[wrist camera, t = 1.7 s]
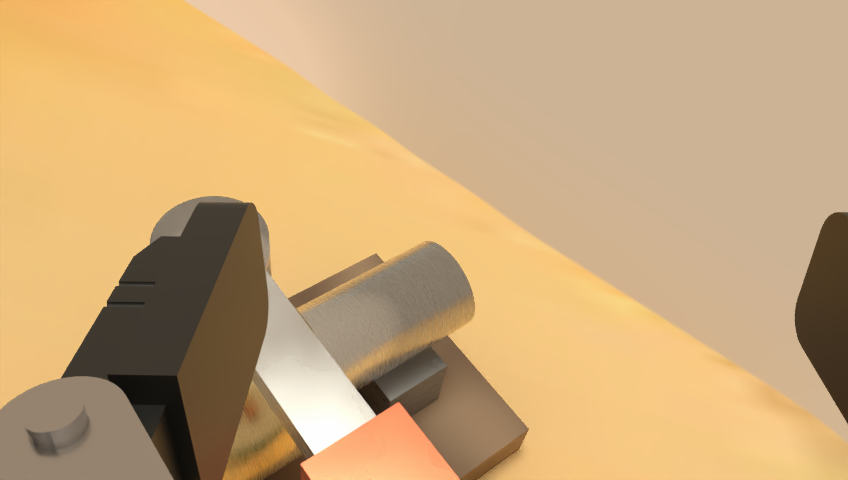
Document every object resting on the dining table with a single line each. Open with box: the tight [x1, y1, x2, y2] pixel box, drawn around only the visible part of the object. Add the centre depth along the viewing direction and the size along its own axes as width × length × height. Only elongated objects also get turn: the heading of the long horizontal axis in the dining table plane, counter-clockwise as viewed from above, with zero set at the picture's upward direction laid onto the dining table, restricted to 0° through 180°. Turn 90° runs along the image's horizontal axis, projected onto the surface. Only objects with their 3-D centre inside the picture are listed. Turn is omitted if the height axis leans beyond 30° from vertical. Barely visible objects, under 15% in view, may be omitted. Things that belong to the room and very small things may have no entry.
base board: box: [263, 254, 529, 480], centre depth 33 cm, size 22×12×2 cm, turn 127°
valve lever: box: [150, 196, 460, 480], centre depth 19 cm, size 3×16×2 cm, turn 37°
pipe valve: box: [222, 241, 475, 480], centre depth 28 cm, size 20×6×12 cm, turn 127°
